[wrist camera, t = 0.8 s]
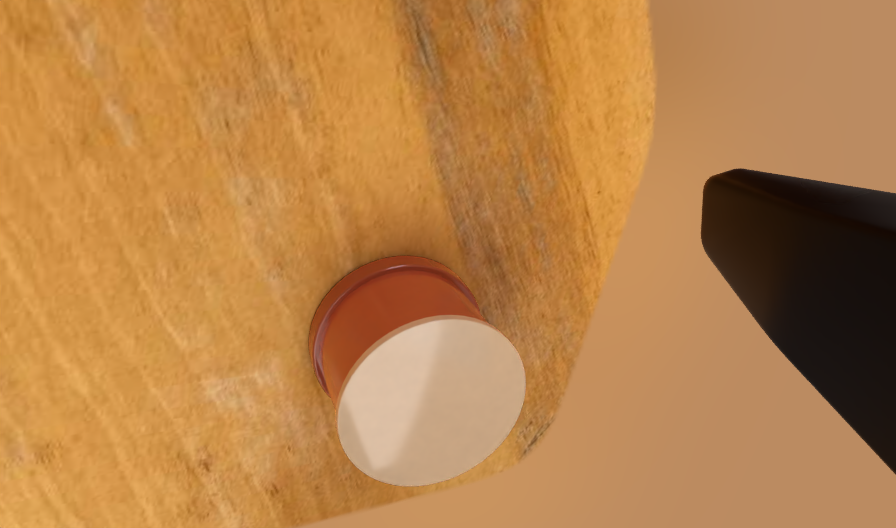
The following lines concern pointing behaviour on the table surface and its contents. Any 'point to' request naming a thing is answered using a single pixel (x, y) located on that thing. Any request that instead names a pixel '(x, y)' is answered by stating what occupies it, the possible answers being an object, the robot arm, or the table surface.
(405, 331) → the upturned cup
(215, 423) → the table surface
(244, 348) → the table surface
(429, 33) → the table surface
